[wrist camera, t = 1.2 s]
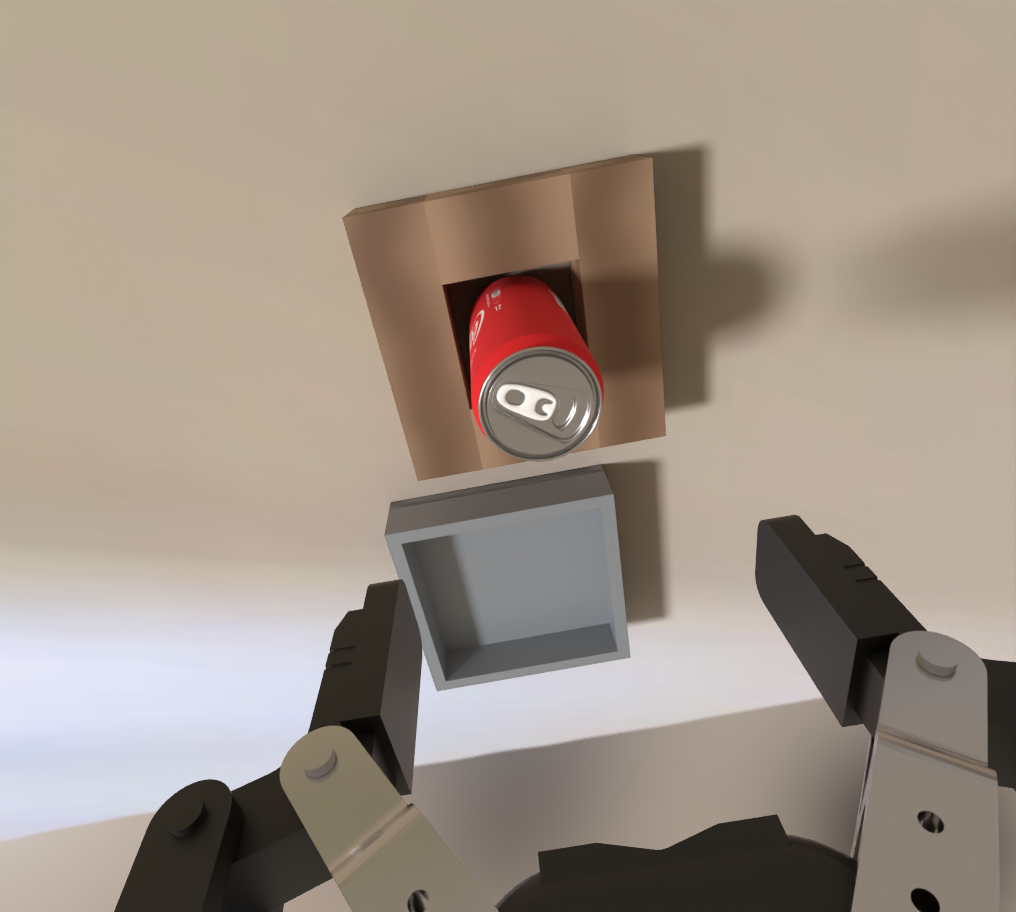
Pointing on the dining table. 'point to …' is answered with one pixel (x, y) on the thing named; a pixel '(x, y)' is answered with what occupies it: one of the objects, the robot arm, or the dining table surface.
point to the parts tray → (513, 576)
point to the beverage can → (531, 371)
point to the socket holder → (506, 248)
